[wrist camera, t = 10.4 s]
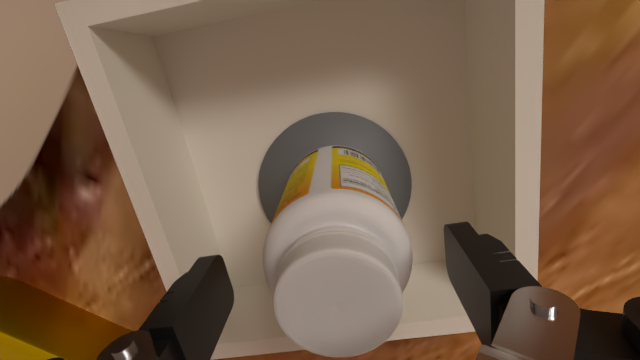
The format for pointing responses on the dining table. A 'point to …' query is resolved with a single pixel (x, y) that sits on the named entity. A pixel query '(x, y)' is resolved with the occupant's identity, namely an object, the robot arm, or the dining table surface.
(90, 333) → the element tile
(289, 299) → the supplement bottle
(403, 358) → the dining table surface
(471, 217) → the box
